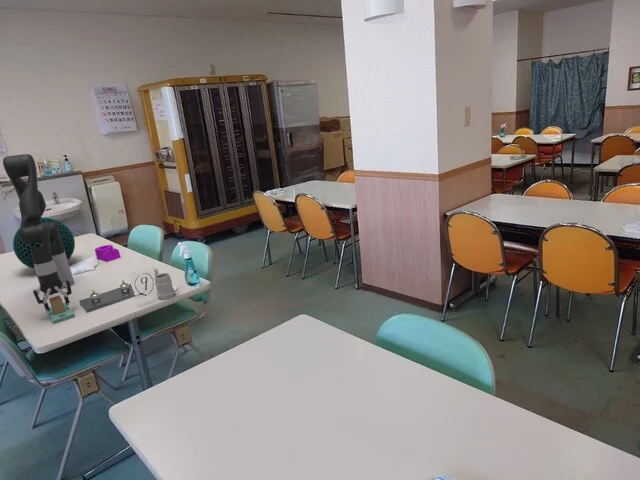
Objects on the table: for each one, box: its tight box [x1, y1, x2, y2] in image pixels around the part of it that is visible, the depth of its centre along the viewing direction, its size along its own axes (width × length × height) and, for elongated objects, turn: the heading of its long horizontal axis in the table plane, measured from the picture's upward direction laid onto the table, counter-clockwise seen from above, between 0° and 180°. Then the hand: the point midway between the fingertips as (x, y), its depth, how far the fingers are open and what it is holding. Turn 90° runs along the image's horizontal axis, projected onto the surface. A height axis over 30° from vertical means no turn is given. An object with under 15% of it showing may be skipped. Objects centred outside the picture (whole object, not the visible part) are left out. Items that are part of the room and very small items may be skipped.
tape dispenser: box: [94, 244, 121, 263], centre depth 267 cm, size 16×10×6 cm, turn 46°
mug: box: [153, 267, 176, 300], centre depth 200 cm, size 8×12×12 cm, turn 43°
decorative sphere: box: [12, 217, 76, 270], centre depth 256 cm, size 30×30×30 cm
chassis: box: [78, 279, 136, 313], centre depth 204 cm, size 14×24×6 cm, turn 129°
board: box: [45, 295, 76, 325], centre depth 193 cm, size 18×8×8 cm, turn 39°
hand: (58, 307), depth 193 cm, fingers open, 6 cm apart
